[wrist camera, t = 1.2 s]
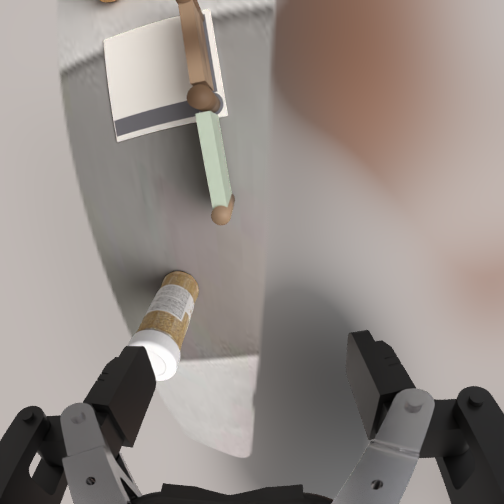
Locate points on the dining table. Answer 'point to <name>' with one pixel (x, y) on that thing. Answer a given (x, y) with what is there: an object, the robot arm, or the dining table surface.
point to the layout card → (155, 77)
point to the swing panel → (215, 166)
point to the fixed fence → (197, 58)
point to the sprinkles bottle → (167, 323)
